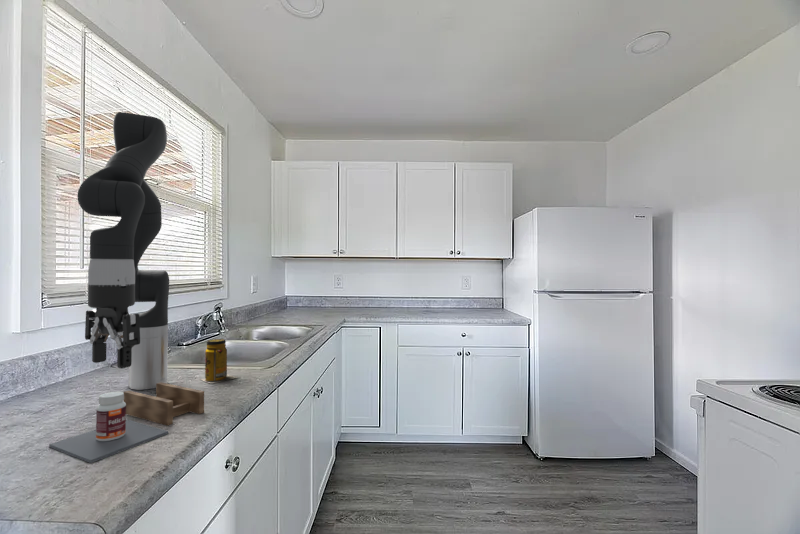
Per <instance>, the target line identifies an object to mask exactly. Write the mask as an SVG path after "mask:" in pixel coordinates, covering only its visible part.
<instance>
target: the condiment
mask: <svg viewBox="0 0 800 534" xmlns="http://www.w3.org/2000/svg"><path fill="white" fill-rule="evenodd" d="M226 342H227V341H226V340H225V339H222V338H217V339H216V338H215V339H210V340H207V341H206V349H205V353H204V358H205V359H204V361H205V362H204V373H205V374H204V377H205V378H200V379H199V380H200V381H203V382H206V383H209V384H210V385H211V384H218V383H222V382H225V381H229V380H234V379H237V378H238V376H234V375H231V374H228V349H227V348H226V346H227V345H226Z"/></svg>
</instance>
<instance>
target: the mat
mask: <svg viewBox="0 0 800 534" xmlns="http://www.w3.org/2000/svg"><path fill="white" fill-rule="evenodd" d="M168 434H169V431H168V430H166V429H162V428H159V427H155V426H151V425H149V424H148V425H147V424H145V423H142V422H137V421H134V420H131V419H126V429H125V435H124V436H123V437H121V438H118V439H115V440H112V441H98V440H96V429H93V430H90V431H86V432H84V433H80V434H78V435H74V436H71V437H68V438H65V439H60V440H58V441H55V442H52V443H50V444H49V445H48V448H51V449H54V450H56V451H59V452H61V453H64V454H66V455H69V456H71V457H74V458H77V459H79V460H82V461H83V462H87V463H90V464H92V463H95V462H97V461H100V460H102V459H105V458H107V457H110V456H113V455H115V454H118V453H120V452H123V451H126V450H129V449H132V448H134V447H136V446H139V445H142V444H144V443H147V442H150V441H152V440H154V439H158V438H160V437H163V436H166V435H168Z"/></svg>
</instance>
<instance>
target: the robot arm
mask: <svg viewBox="0 0 800 534" xmlns="http://www.w3.org/2000/svg"><path fill="white" fill-rule="evenodd" d="M112 123H113V124H112V133H113V141H114V148H115V153H113V155H111V156H110V158H108V161H107V163H106V164H105V166H104V168H101V169H100V170H98V171H97V172H96V171H95V172H94V173H93V174H91V175H89V176H88V177H87V178H86V179H85V180H84V181H83V182H82V183H81V184H80V186H79V188H78V191H77V196H76V197H77V202H78V205H79V206H80V209H81V210H82V211H84V212H85V213H86V214H88V215H91V216H96V217H113V218H114V217H115V218H117V217H119V218H120V219H119V221H118V222H117V223H116V224H115V225H113V226H108V227H101V228H97V229H94V230H92V231H91V232H90V236H89V245H90V246H89V263H88V270H87V306H88V307H89V308H91V309H87V310H86V311H85V323H84V324H85V327H84V338H85V340H86V341H88V340H89V343H90V344H91V345H92V347H91V348H92V349H91V350H92V351H91V353H92V354H91V356H92V357H91V361H92V362H93V363H95V364H98V363H103V362H106V360H107V339H108V337H109V336H110V339H111V340H113V341H115V344H116V346H117V349H116V350H117V351H116V352H117V355H116V356H117V357H116V358H117V359H116V362H117V365H116V367H117V368H118V369H125V368H128V381H127V382H128V387H129V389H131V390H137V391H139V390H149V389H156V383H160V382H162V383H167V384H168V369H169V368H168V362H169V361H168V360H169V358H168V356H169V355H168V353H169V352H168V350H169V347H168V346H169V344H168V343H169V334H168V333H169V318H168V317H169V308H168V307H169V294H170V293H169V292H170V291H169V290H170V276H169V273H168V271H166V270H164V269H139V263H140V261H141V258H142V257H143V255H144V254H145V252H146V251H147V249H148V248H149V246H150V245H151V244H152V242H153V241H154V240H155V239H156V237H157V236H158V234H159V233H160V231H161V228H162V224H163V223H162V205H161V202H160V199H159V197H158V195H157V194H156V193H155V192H154V190H153V189H152V188H151V186H150V185H149V184H148V182H147V180H146V179H145V176H146V174H147V172H148V170H149V169H150V167H152V166H153V164H154V163H155V162H156V161H157V160H158V159H159V158H160V157H161V156H162V155H163V153H164V152H165V149H166V147H167V140H168V133H167V128H166V124H165V122H164V121H163V120H162V119H161V118H158V117H155V116H151V115H144V114H139V113H138V114H137V113H131V112H123V111H119V112H116V113H115V115H114V117H113V122H112ZM153 302H154V304H155V305H154V306H152V308H150V309H149V310H147V311H143V312H141V313H137V312H136V313H129V308H130V307H133V306H134V305H135V304H136V303H153Z"/></svg>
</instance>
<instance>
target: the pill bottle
mask: <svg viewBox="0 0 800 534" xmlns="http://www.w3.org/2000/svg"><path fill="white" fill-rule="evenodd" d="M124 392H125V391H110V392H105V393H102V394H100V395H99V396H98V405H97V407H96V409H95V410H96V416H95V417H96V424H95V425H96V428H95V430H96V440H98V441H112V440H115V439H118V438H121V437H123V436H124V435H125V429H126V420H127V414H126V403H125V402H124V401H123V400H124Z"/></svg>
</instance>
